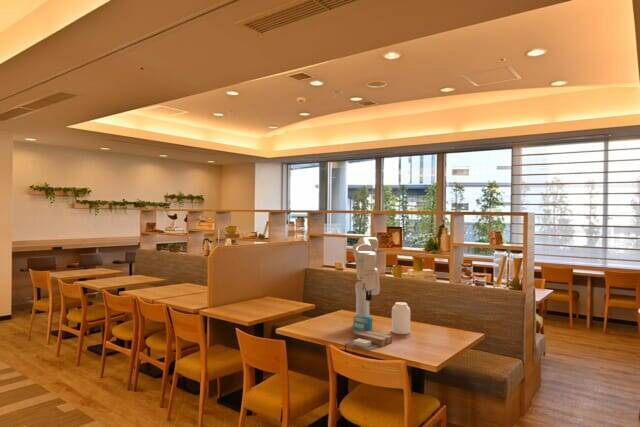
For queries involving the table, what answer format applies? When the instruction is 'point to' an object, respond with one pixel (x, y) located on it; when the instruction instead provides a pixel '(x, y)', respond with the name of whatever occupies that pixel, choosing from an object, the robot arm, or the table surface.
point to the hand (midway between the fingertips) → (368, 300)
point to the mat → (363, 347)
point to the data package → (362, 323)
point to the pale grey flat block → (362, 342)
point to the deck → (374, 337)
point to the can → (400, 318)
